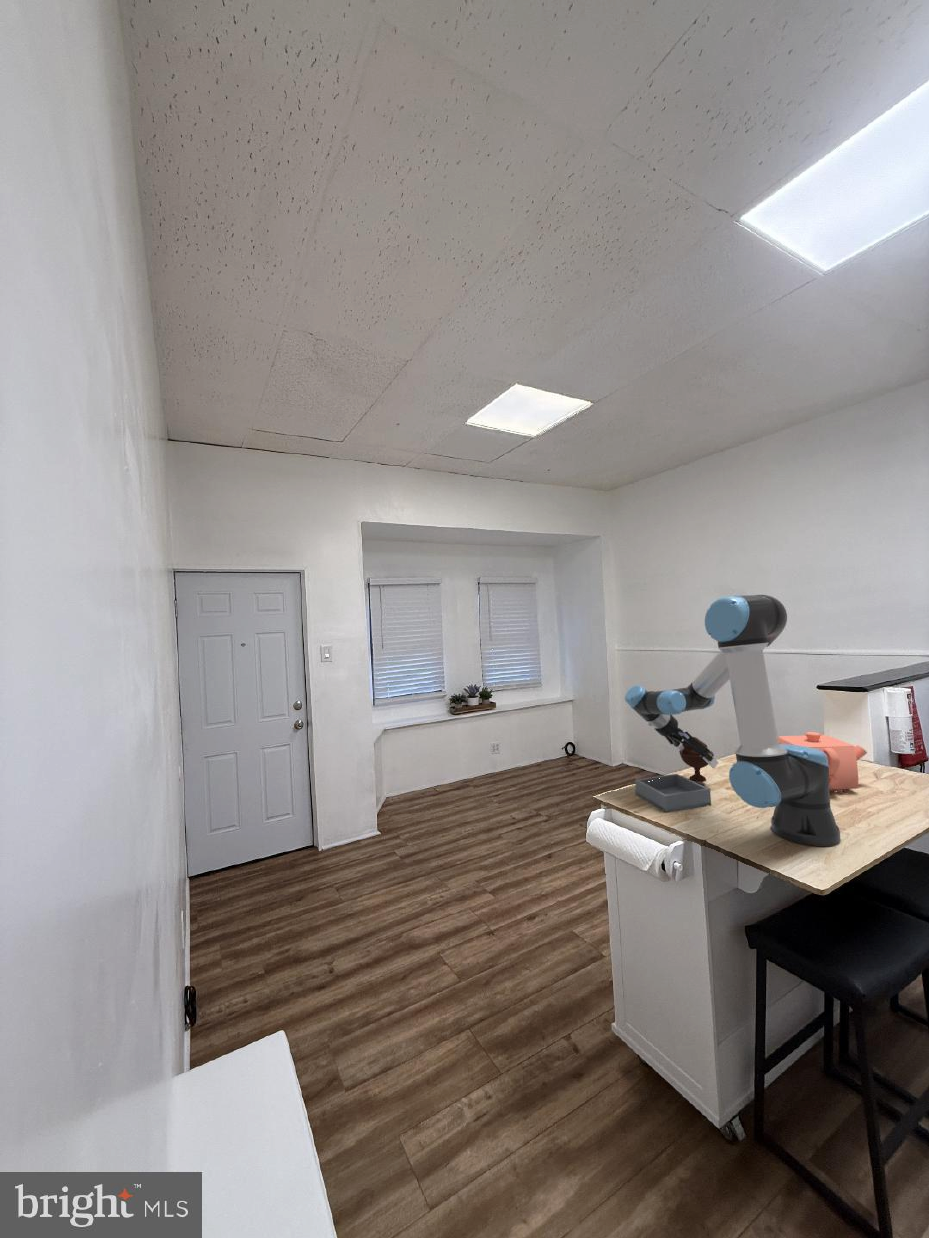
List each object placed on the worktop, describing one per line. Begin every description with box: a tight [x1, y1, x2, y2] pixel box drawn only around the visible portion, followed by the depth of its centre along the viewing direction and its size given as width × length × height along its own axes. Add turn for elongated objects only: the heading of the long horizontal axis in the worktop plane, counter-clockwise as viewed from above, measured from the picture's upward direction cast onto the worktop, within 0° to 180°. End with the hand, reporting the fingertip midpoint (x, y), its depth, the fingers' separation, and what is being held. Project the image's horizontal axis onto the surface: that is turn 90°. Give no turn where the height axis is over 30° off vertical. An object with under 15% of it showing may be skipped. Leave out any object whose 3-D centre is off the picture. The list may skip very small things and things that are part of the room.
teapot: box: [777, 731, 868, 793], centre depth 161 cm, size 25×23×18 cm
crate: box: [634, 773, 712, 814], centre depth 157 cm, size 16×16×5 cm
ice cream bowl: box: [678, 736, 715, 783], centre depth 169 cm, size 11×11×15 cm
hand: (703, 760), depth 170 cm, fingers closed on ice cream bowl, 11 cm apart
